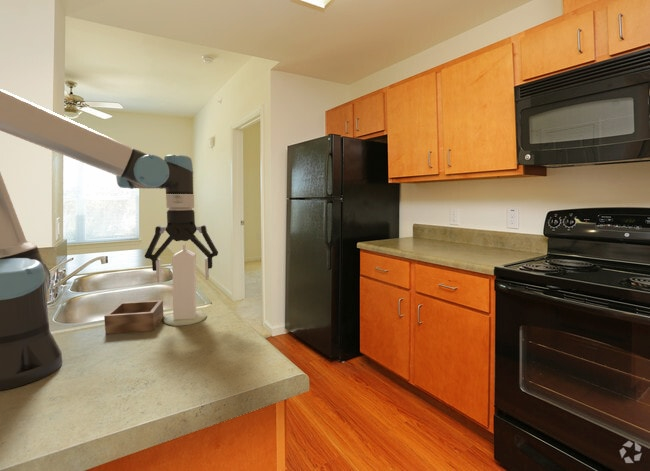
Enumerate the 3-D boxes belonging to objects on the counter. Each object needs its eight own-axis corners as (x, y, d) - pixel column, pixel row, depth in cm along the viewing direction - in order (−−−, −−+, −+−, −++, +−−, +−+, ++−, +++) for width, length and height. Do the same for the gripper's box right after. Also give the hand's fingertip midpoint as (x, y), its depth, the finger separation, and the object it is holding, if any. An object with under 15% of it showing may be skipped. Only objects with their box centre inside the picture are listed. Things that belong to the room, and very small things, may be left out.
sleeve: (105, 333, 94) (104, 316, 93) (120, 318, 105) (119, 302, 105) (153, 330, 96) (152, 312, 96) (163, 315, 108) (162, 300, 107)
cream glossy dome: (159, 327, 98) (159, 325, 98) (168, 313, 110) (168, 311, 110) (203, 324, 101) (203, 322, 101) (208, 310, 113) (208, 309, 113)
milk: (173, 320, 102) (171, 245, 100) (176, 314, 108) (174, 243, 106) (195, 318, 104) (193, 245, 101) (196, 312, 109) (195, 243, 107)
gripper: (129, 210, 95) (134, 285, 98) (224, 209, 101) (226, 281, 103) (138, 209, 103) (142, 279, 105) (225, 208, 108) (227, 275, 111)
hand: (183, 280), depth 104 cm, fingers open, 13 cm apart
